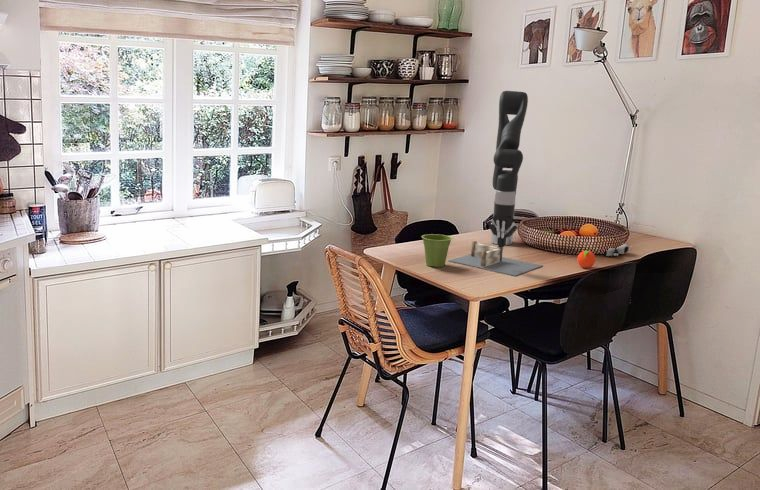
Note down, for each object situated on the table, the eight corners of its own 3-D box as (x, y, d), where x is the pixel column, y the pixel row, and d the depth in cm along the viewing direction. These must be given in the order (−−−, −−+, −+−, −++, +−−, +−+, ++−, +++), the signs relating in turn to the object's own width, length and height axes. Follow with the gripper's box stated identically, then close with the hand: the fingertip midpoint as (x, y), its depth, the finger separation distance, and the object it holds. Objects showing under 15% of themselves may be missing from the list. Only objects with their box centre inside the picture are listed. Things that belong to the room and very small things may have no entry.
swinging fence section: (498, 259, 270) (499, 246, 268) (502, 260, 268) (503, 246, 267) (479, 265, 259) (480, 251, 258) (484, 266, 258) (485, 252, 256)
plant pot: (456, 266, 261) (458, 237, 258) (437, 270, 252) (438, 241, 250) (433, 260, 269) (435, 232, 266) (413, 264, 260) (415, 236, 258)
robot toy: (617, 262, 281) (632, 254, 292) (618, 251, 280) (633, 244, 291) (590, 256, 289) (605, 249, 300) (591, 246, 288) (605, 239, 299)
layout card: (477, 252, 284) (477, 251, 284) (542, 266, 265) (542, 265, 265) (448, 261, 267) (448, 260, 267) (515, 276, 249) (515, 275, 248)
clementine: (591, 271, 260) (593, 253, 259) (573, 268, 263) (575, 251, 262) (596, 267, 267) (598, 250, 265) (578, 264, 270) (580, 247, 269)
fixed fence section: (470, 256, 276) (471, 241, 274) (472, 255, 277) (473, 241, 276) (494, 261, 268) (495, 246, 267) (497, 260, 270) (498, 245, 269)
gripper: (525, 203, 251) (521, 248, 255) (494, 199, 259) (490, 242, 263) (516, 206, 245) (512, 251, 249) (484, 201, 253) (481, 245, 257)
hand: (501, 246), depth 256 cm, fingers closed
